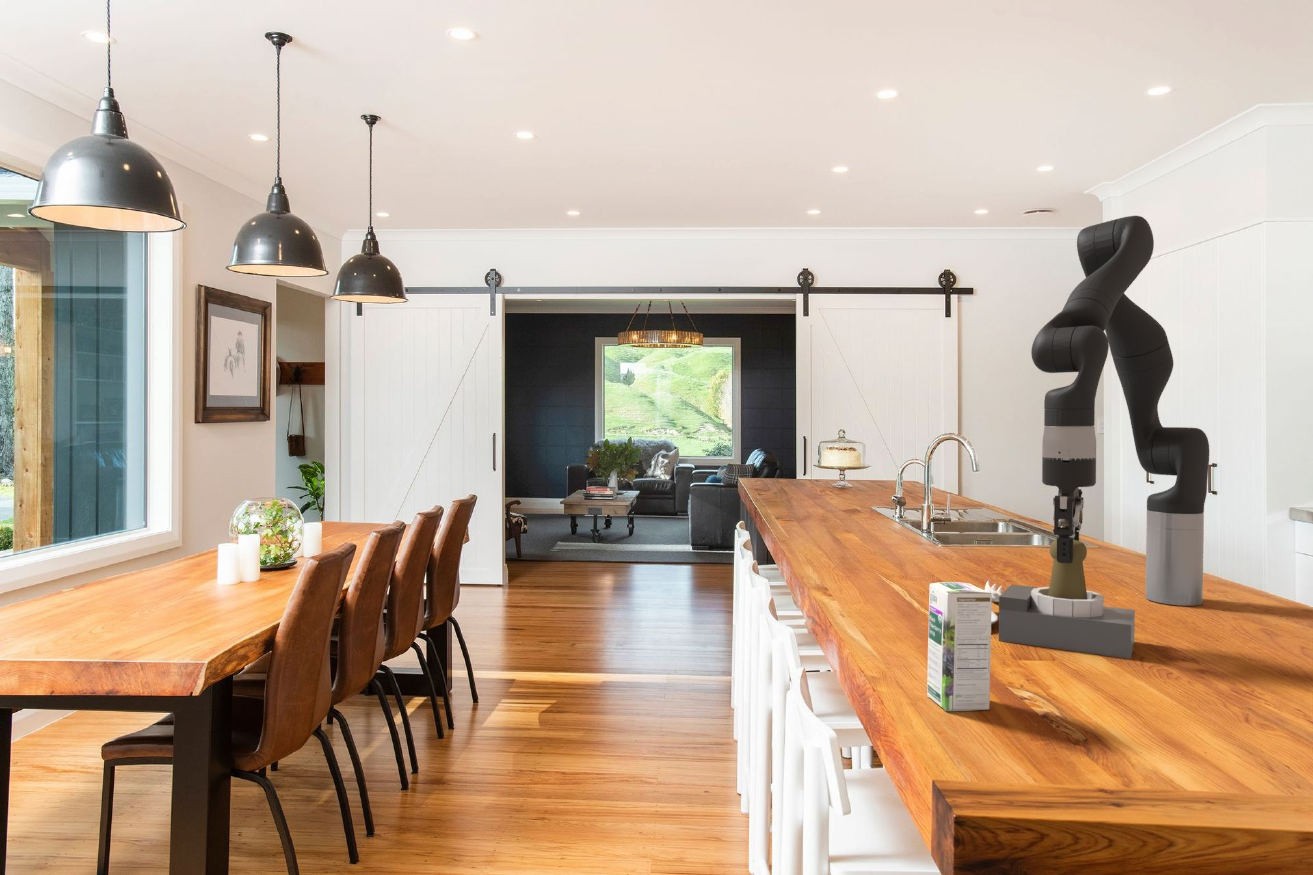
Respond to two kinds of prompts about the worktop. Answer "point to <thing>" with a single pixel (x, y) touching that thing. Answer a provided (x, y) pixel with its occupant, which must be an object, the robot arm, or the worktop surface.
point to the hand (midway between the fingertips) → (1068, 558)
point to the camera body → (1065, 622)
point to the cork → (1068, 574)
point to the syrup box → (959, 646)
